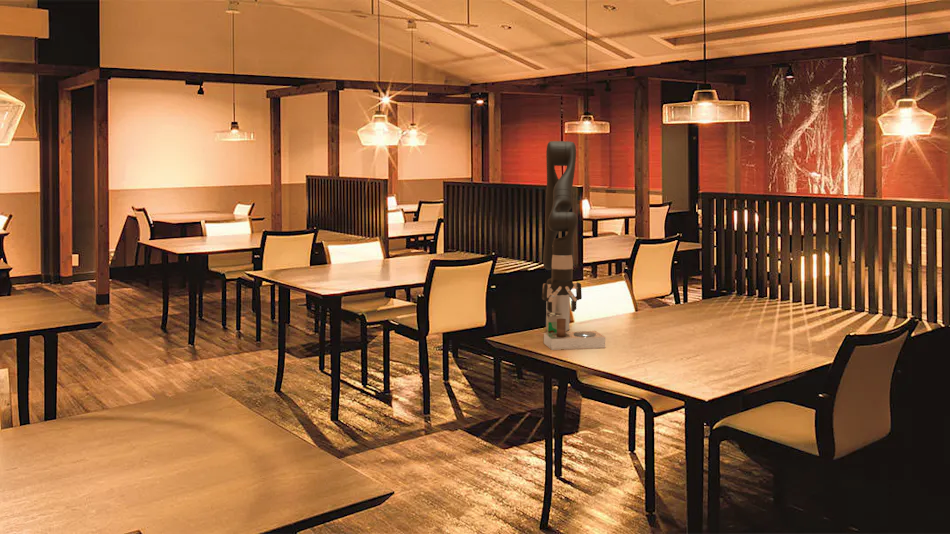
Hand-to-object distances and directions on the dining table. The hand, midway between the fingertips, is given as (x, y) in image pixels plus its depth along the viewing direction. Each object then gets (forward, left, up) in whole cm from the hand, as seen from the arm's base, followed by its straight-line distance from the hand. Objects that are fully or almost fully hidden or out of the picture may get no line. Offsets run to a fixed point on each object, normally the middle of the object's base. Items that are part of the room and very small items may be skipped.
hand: (561, 311), depth 313 cm
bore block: (0, +5, -13) cm, 14 cm away
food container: (-11, +1, -13) cm, 17 cm away
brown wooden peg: (0, 0, -13) cm, 13 cm away
